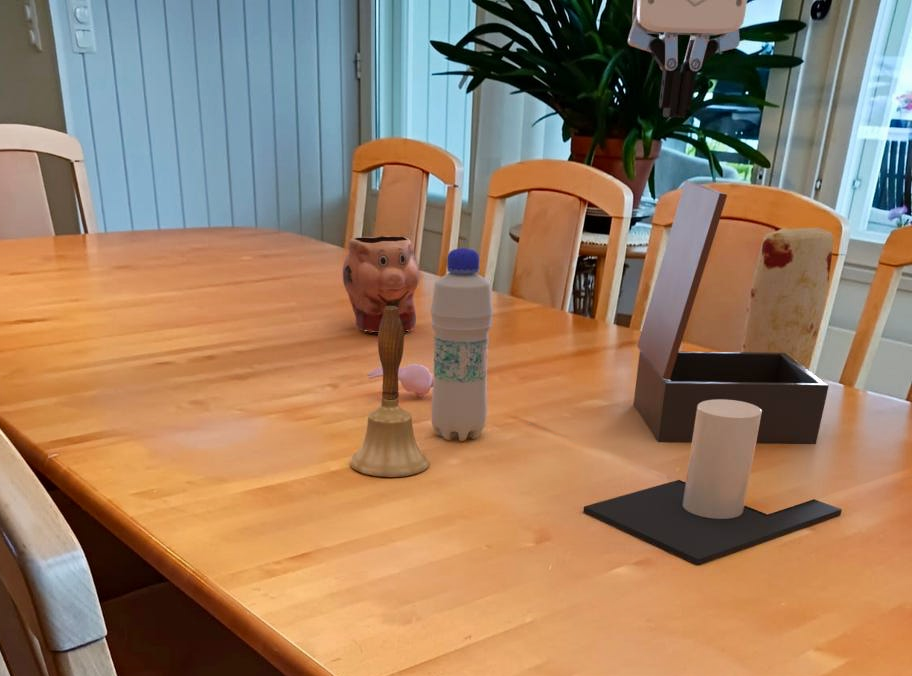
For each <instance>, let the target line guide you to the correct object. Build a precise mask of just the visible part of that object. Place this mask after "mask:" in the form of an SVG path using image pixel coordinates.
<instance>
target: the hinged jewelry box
mask: <svg viewBox="0 0 912 676" xmlns="http://www.w3.org/2000/svg"><path fill="white" fill-rule="evenodd" d="M638 355H639V356H638V363H637V372H636V378H635V379H636V380H635V388H634V397H633V406H634V408H635V409H636V411H637V412H638V414H639V416H640V417H641V419H642V420H643V422H644V424H645V425H646V426H647V428H648V430H649V431H650V432H651V434H652V435H653V438H654V439H655V441H656V442H657V443H670V444H671V443H672V444H673V443H677V444H678V443H679V444H680V443H682V444H683V443H684V444H691V443H692V437H693V430H694V424H695V417H696V411H697V405H698V404H699V403H700V402H703V401H707V400H717V399H723V400H735V401H742V402H746V403H750V404H753V405H755V406H757V407H759V408H760V409H761V410H762V415H761V420H760V426H759V431H758V436H757V442H756V445H757V444H762V445H763V444H764V445H765V444H766V445H775V444H776V445H816V444H817V441H818V437H819V432H820V426H821V424H822V419H823V418H822V417H823V415H824V409H825V406H826V405H825V404H826V399H827V395H828V391H829V387H830V385H829V384H827V383H826V382H824V380H823V379H821V378H820V377H818V376H817V375H815V374H814V372H811V371H810V370H809V369H807V367H806V368H805V367H803V366H802V365H801V364H799V363H798V362H797V361H795V360H794V359H793V358H791V357H790V356H789V355H787V354H786V353H761V352H741V351H680V350H679V352H678V355H677V358H676V361H675V364H674V368H673V371H672V374H671V377H670V379H664V378H662V376H661V375H660V374H659V373H658V371H657V370H656V369H655V368H654V366H653V365H652V364H651V363H650V361H649V360H648V359H647V358H646V356H645V355H644V354H643V353H642V352H641V350H639V354H638Z"/></svg>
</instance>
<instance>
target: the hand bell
mask: <svg viewBox="0 0 912 676" xmlns="http://www.w3.org/2000/svg"><path fill="white" fill-rule="evenodd" d="M404 333H405V332H403V327H402V323H401V320H400V317H399V312H398V307H396V306H386V307H385V309H384V314H383V317H382V320H381V323H380V327H379V332H378V333H377V350H378V356H379V360H380V364H381V367H382V369H383V376H382V386H381V387H382V389H381V390H382V392H381V402H380V403H381V404H380V406H379V407H377V408H375V409H373V410H371V411H370V412H369V413H368V416H367V424H366V429H365V435H364V439H363V441H362V443H361V446H360V447H359V449H358V450H357V451H356V452H355V453H354V454H353V455H352V456H351V458H350V461H349V464H350V466H351V468H352V469H353V470H355V471H356V472H359V473H361V474H365V475H368V476H374V477H381V478H400V477H408V476H413V475H417V474H421V473H422V472H424V471H426V470H427V469H428V468H429V466H430V461H429V459H428V457H427V456H426V454H425V453H424V452H422V451H421V449H420V447H419V445H418V443H417V441H416V438H415V433H414V428H413V427H414V426H413V420H412V419H413V418H412V414H411V413H410V412H409V411H408V410H405V409H404V408H401V407H400V405H399V396H400V395H399V394H400V393H399V380H398V370H399V368H400V365H401V363H402V358H403V355H404V348H405V334H404Z"/></svg>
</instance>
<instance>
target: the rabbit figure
mask: <svg viewBox="0 0 912 676" xmlns="http://www.w3.org/2000/svg"><path fill="white" fill-rule="evenodd" d="M366 376H367V377H368V379H369V380H372V379H376V378H379V377H383V369H382V366H378V367H375V368H374V369H372V370H370V371H369V372H368V373H367V374H366ZM399 381H400V384H401V386H402V388H403V389H404V390H405V391H406V392H408V393H409V392H411V393H414V394H415V396H416V397H418V396H419V397H421V398H424V397H425V396H426V395H427V394H429V393H430V392H431V388H433V383H434V377H432V373H431V371H430V370H429V368H427V367H426V366H425V365H423V364H419V363H411V364H407V365H406V366H404V367H399V370H398V382H399Z"/></svg>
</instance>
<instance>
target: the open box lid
mask: <svg viewBox="0 0 912 676" xmlns="http://www.w3.org/2000/svg"><path fill="white" fill-rule="evenodd" d="M727 198H728V194H727V193H725V192H722V191H718V190H715V189H713V188H710V187H707V186H705V185H702V184H700V183H696V182H694V181H691V180H684V184H683V187H682V191H681V194H680V197H679V201H678V204H677V207H676V212H675V215H674V217H673V221H672V225H671V228H670V231H669V235H668V239H667V242H666V245H665V248H664V252H663V256H662V260H661V263H660V266H659V270H658V273H657V276H656V280H655V284H654V286H653V290H652V293H651V297H650V301H649V303H648V304H649V305H648V308H647V311H646V314H645V318H644V321H643V324H642V327H641V331H640V335H639V338H638V342H637V345H636V347H637V348H638V349H639V351H641V352H642V353H643V354H644V355H645V356H646V358H647V359H648V360H649V361H650V363H651V364H652V365H653V366H654V368H655V369H656V370H657V371H658V373H659V374H660V375H661V376H662V378H664V379H670V377H671V374H672V371H673V368H674V364H675V361H676V358H677V355H678V352H679V351H680V348H681V344H682V341H683V339H684V335H685V332H686V329H687V327H688V323H689V319H690V316H691V314H692V309H693V306H694V304H695V300H696V297H697V294H698V291H699V288H700V284H701V281H702V278H703V275H704V272H705V268H706V266H707V262H708V258H709V256H710V252H711V248H712V245H713V243H714V240H715V237H716V233H717V230H718V227H719V224H720V220H721V217H722V213H723V210H724V208H725V204H726V201H727Z"/></svg>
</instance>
